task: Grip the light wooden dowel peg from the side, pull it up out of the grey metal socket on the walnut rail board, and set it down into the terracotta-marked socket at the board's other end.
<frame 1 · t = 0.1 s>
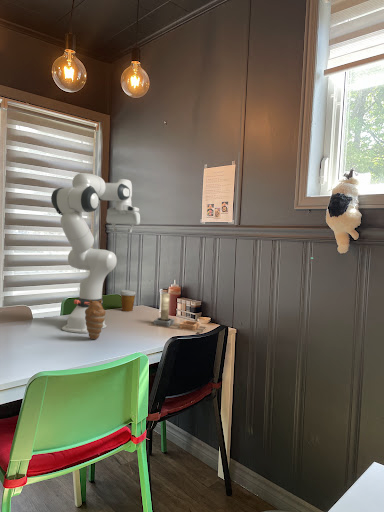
hand: (122, 231, 221), 48 cm above the table, tool pointing down, fingers open, 8 cm apart
peg: (164, 324, 200), point 1 cm above the table, touching rail board
rail board: (176, 328, 198), on the table
disposable coffee cup: (127, 310, 234), on the table
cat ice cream: (94, 339, 171), on the table
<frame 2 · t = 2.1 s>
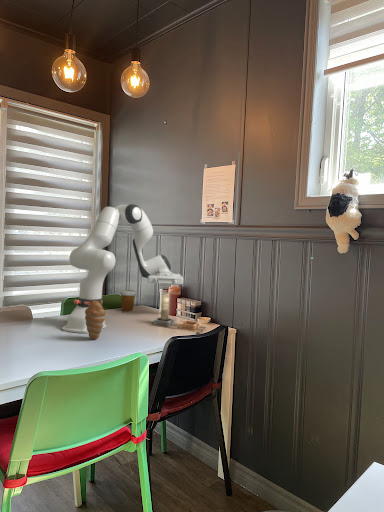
hand: (165, 281, 211), 22 cm above the table, tool horizontal, fingers open, 8 cm apart
nothing on the table moved.
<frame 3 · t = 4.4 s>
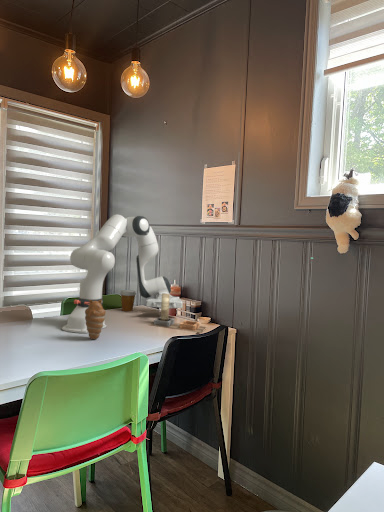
hand: (164, 306, 207), 9 cm above the table, tool horizontal, fingers open, 8 cm apart
nothing on the table moved.
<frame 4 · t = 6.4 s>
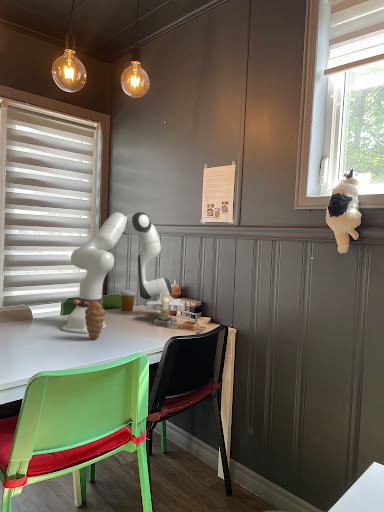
hand: (165, 309, 199), 10 cm above the table, tool horizontal, fingers closed on peg, 4 cm apart
peg: (164, 324, 200), point 1 cm above the table, touching gripper, rail board
everything else where it was.
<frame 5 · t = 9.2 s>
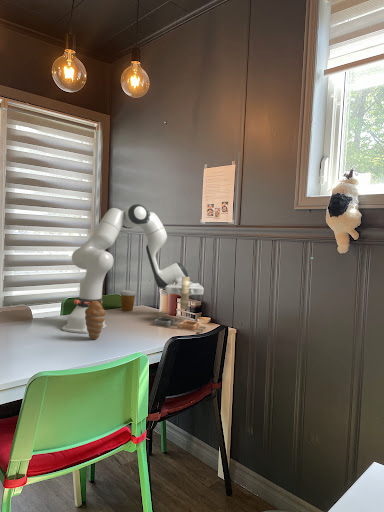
hand: (185, 292, 196), 19 cm above the table, tool horizontal, fingers closed on peg, 4 cm apart
peg: (184, 308, 197), point 11 cm above the table, touching gripper
everything else where it was.
when the fingers open (11 cm above the table, at t = 12.0 s): peg stays where it is, resting on rail board.
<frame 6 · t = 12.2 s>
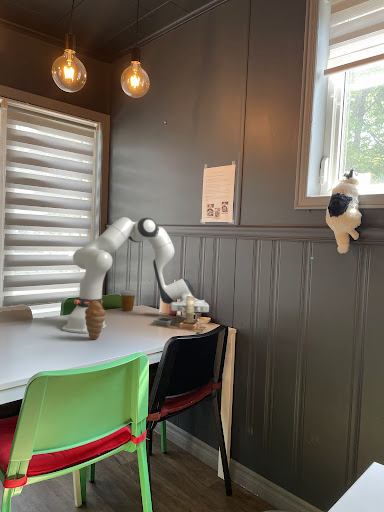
hand: (190, 310, 195), 11 cm above the table, tool horizontal, fingers open, 5 cm apart
peg: (189, 327, 196), point 1 cm above the table, touching rail board
everything else where it was.
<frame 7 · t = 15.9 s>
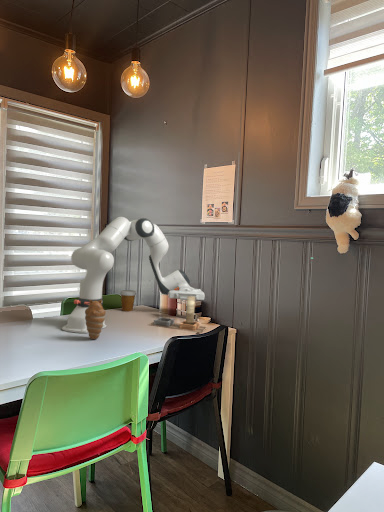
hand: (187, 297, 208), 15 cm above the table, tool horizontal, fingers open, 8 cm apart
nothing on the table moved.
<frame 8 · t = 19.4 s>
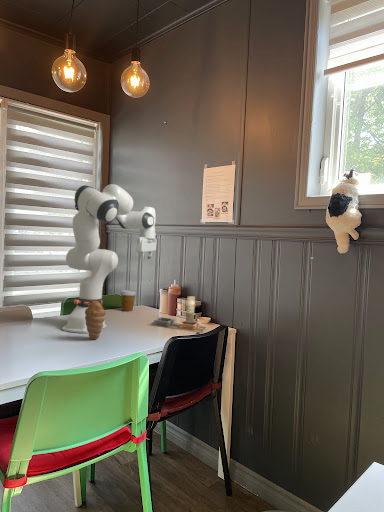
hand: (145, 259, 218), 33 cm above the table, tool pointing down, fingers open, 8 cm apart
nothing on the table moved.
at the end: peg 0.1 cm from the target spot on the rail board, point 1.2 cm above the rail board's base; peg tilted 0°; the gripper is holding nothing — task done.
